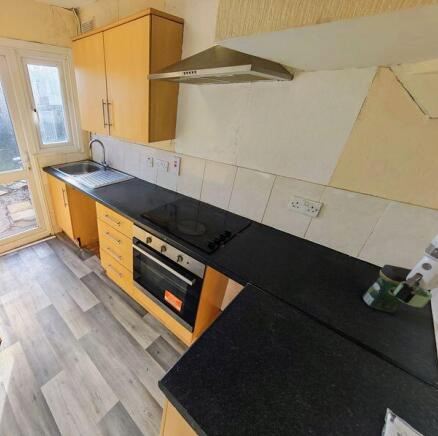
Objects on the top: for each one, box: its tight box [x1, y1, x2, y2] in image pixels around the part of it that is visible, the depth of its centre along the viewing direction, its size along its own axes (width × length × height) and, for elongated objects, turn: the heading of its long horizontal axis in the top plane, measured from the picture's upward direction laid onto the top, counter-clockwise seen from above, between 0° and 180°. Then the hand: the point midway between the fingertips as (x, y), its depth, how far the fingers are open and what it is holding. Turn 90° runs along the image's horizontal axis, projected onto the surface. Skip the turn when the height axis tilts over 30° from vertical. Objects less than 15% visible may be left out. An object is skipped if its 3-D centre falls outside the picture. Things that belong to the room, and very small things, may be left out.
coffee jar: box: [362, 264, 418, 314], centre depth 87 cm, size 10×8×19 cm
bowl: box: [394, 281, 433, 308], centre depth 73 cm, size 7×7×5 cm
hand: (409, 297), depth 74 cm, fingers closed on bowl, 7 cm apart
